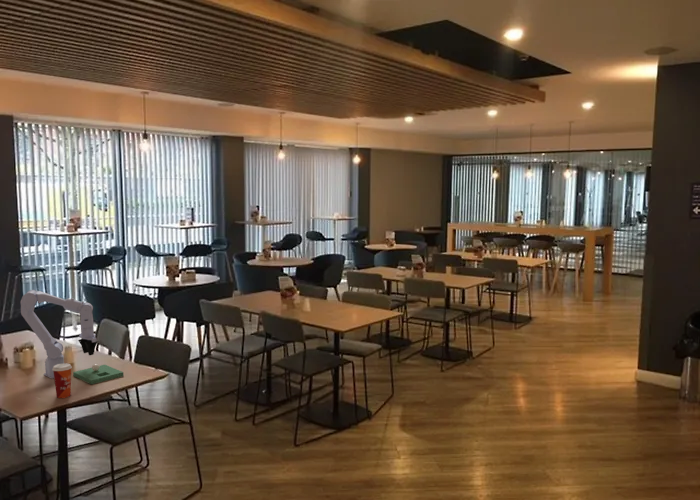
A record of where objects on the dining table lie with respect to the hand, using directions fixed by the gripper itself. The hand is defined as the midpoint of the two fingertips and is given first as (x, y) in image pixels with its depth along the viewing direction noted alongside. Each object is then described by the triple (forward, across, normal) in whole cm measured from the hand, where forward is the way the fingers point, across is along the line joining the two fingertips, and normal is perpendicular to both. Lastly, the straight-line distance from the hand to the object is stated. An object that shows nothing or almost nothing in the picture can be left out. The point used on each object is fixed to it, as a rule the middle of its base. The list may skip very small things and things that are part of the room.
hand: (88, 353), depth 291 cm
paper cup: (+10, -24, +23) cm, 35 cm away
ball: (+6, -7, 0) cm, 9 cm away
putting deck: (+9, -10, 0) cm, 13 cm away
